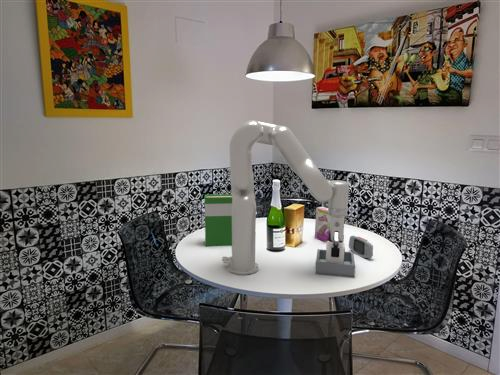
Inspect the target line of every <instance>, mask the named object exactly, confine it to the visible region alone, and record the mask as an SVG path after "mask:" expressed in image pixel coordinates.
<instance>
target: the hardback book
mask: <svg viewBox="0 0 500 375" xmlns="http://www.w3.org/2000/svg"><path fill="white" fill-rule="evenodd" d="M204 236H205V237H204V238H205V239H204V240H205V241H204V242H205V247H232V193H223V194H220V193H219V194H217V193H216V194H211V193H210V194H204Z"/></svg>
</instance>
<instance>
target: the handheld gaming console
mask: <svg viewBox="0 0 500 375" xmlns="http://www.w3.org/2000/svg"><path fill="white" fill-rule="evenodd" d="M348 248H349V250H351V252H353V254H355V255H356V256H359V257H361V258H364V259H365V258H366V259H371V258H372V257H373V256H374V245H373V244H372V242H371V243H370V242H369V241H368V239H365V238H364V237H361V236H356V235H351V236H350V237H349V241H348Z"/></svg>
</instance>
